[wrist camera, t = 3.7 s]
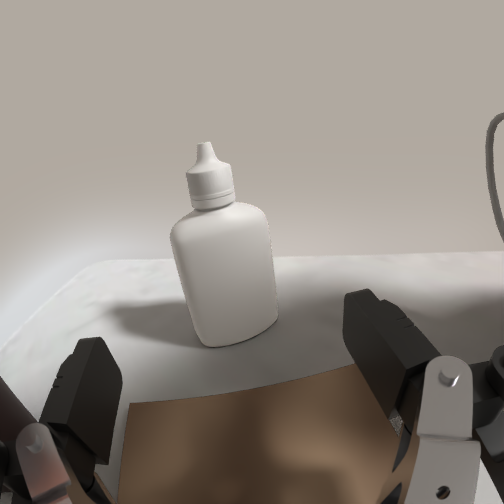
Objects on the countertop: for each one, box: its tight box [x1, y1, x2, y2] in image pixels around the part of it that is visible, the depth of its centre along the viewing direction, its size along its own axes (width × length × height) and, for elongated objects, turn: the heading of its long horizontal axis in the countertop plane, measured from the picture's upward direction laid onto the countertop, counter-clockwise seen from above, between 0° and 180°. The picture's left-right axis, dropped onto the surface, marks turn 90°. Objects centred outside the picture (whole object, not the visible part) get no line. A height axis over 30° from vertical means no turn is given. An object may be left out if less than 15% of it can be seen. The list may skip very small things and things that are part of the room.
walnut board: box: [117, 363, 399, 504], centre depth 10 cm, size 12×9×1 cm
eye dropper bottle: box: [170, 142, 278, 347], centre depth 17 cm, size 4×6×12 cm
